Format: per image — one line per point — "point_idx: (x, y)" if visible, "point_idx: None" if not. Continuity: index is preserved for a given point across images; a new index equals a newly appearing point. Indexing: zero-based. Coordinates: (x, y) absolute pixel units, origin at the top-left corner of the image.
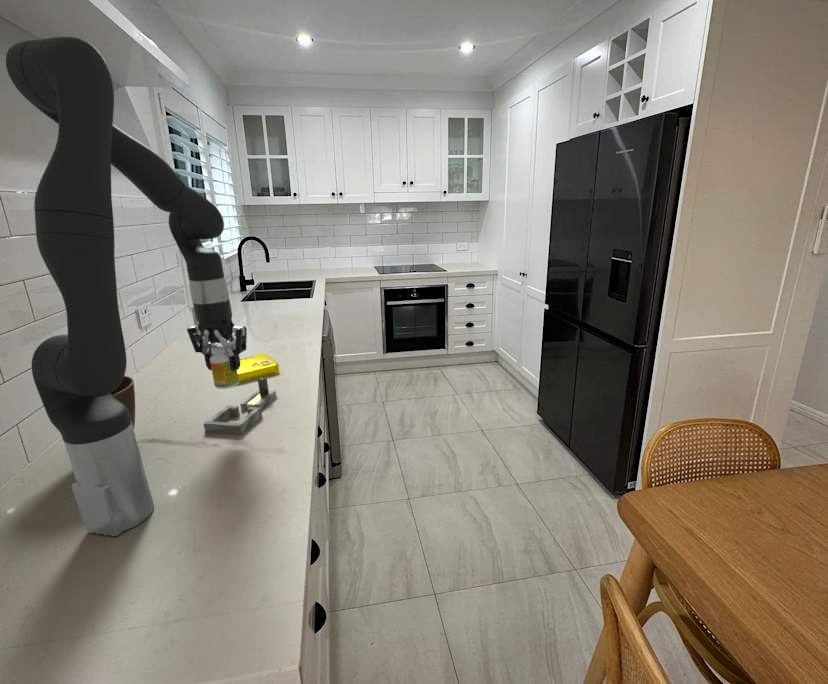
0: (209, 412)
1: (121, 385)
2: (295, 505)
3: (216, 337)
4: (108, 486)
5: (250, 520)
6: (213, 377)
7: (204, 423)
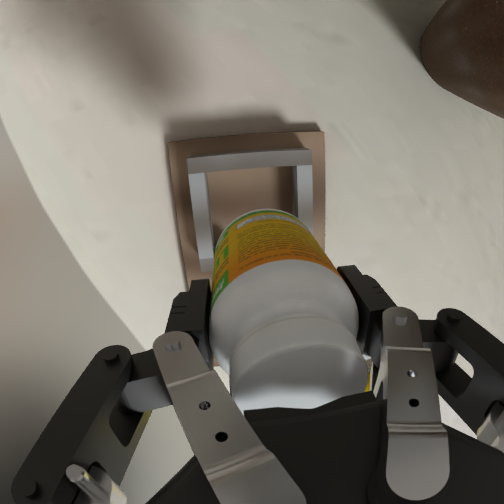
0: (371, 258)
1: None
2: None
3: (307, 451)
4: None
5: None
6: (306, 232)
7: (308, 150)
